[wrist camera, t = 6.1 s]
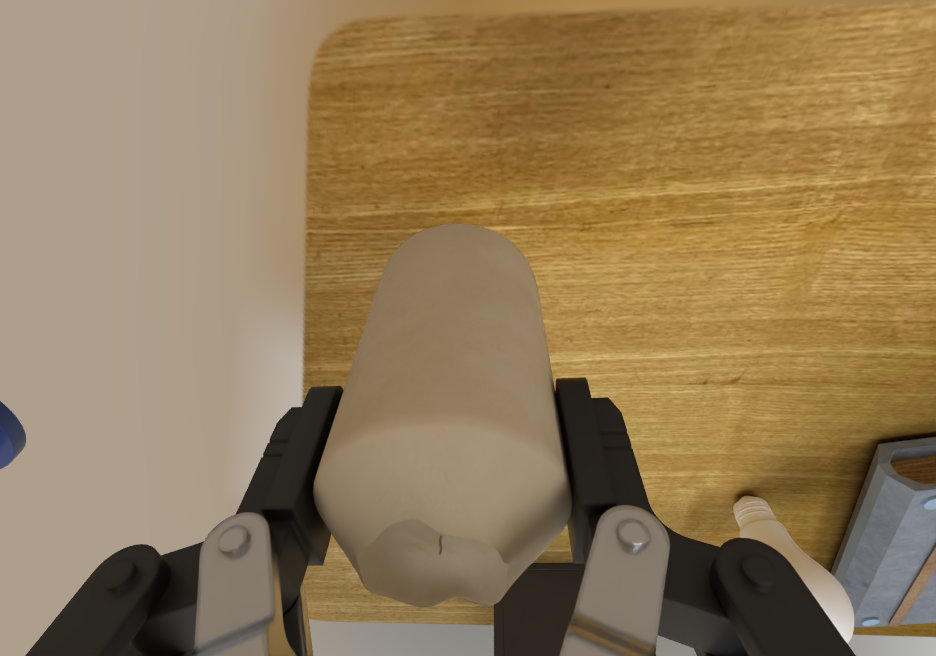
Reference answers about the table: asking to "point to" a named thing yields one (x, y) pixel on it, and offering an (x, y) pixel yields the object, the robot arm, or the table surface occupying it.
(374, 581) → the candle
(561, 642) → the bin
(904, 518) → the book
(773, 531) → the lightbulb
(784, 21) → the table surface
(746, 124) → the table surface
